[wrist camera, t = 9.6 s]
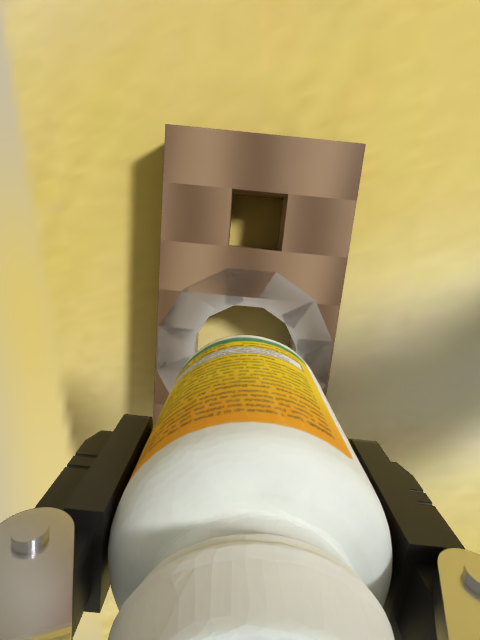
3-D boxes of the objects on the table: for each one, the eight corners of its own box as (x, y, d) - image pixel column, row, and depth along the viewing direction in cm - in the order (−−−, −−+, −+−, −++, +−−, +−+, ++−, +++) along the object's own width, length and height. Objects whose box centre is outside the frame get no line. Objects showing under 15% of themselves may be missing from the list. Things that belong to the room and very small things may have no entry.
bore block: (350, 154, 25) (365, 143, 22) (310, 421, 29) (318, 442, 26) (174, 137, 24) (165, 123, 21) (161, 408, 29) (152, 427, 26)
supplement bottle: (342, 421, 14) (569, 828, 4) (223, 486, 14) (191, 964, 5) (269, 301, 13) (355, 495, 3) (143, 377, 13) (-88, 723, 4)
